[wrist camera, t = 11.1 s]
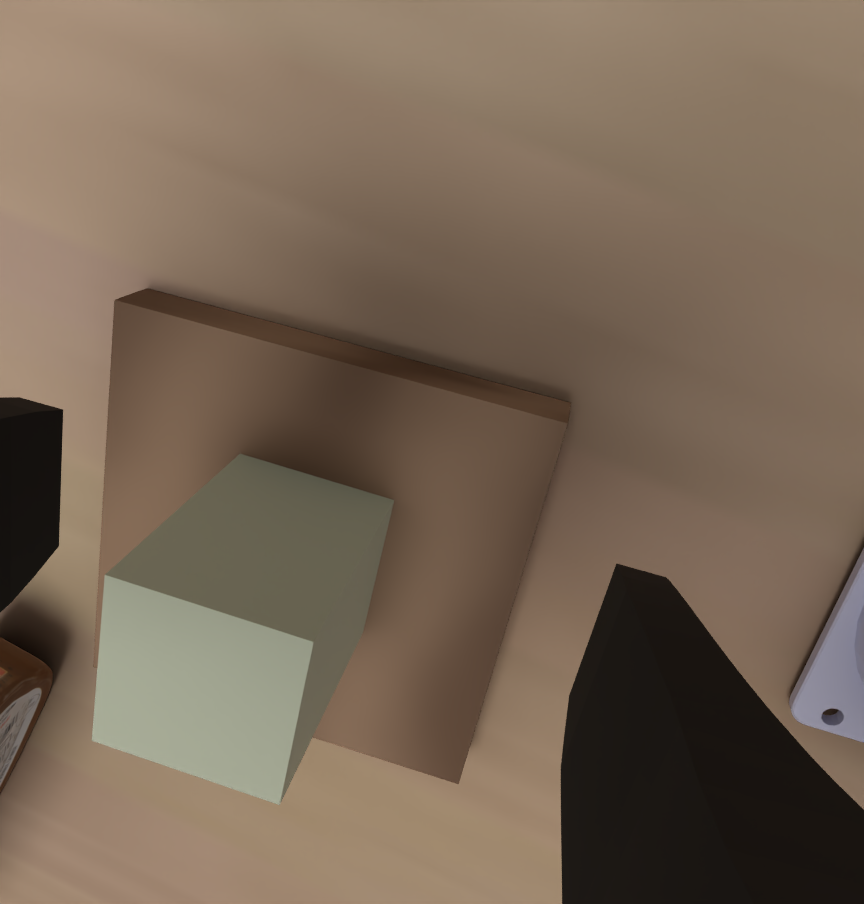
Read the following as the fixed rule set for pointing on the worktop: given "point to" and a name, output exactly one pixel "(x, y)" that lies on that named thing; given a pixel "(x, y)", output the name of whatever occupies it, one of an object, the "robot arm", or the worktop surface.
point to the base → (355, 465)
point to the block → (237, 624)
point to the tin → (19, 701)
